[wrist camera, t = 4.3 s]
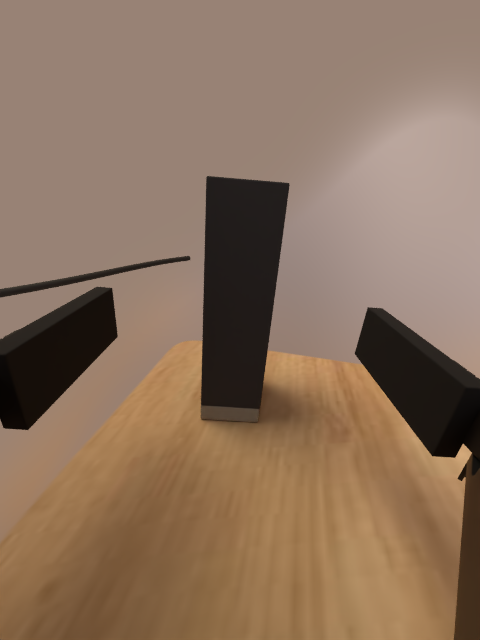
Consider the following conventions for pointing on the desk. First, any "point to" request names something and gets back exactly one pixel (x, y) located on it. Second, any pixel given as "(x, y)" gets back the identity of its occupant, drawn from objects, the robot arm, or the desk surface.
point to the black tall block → (239, 292)
